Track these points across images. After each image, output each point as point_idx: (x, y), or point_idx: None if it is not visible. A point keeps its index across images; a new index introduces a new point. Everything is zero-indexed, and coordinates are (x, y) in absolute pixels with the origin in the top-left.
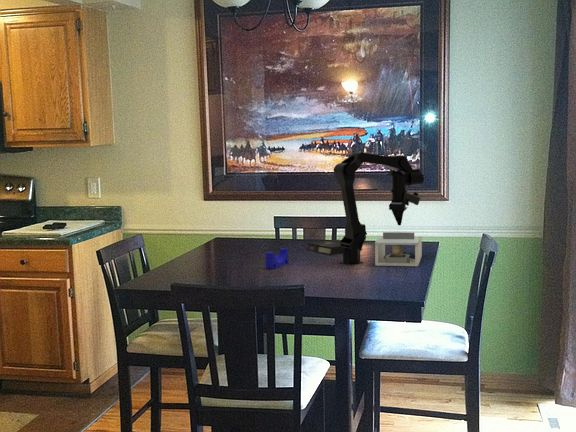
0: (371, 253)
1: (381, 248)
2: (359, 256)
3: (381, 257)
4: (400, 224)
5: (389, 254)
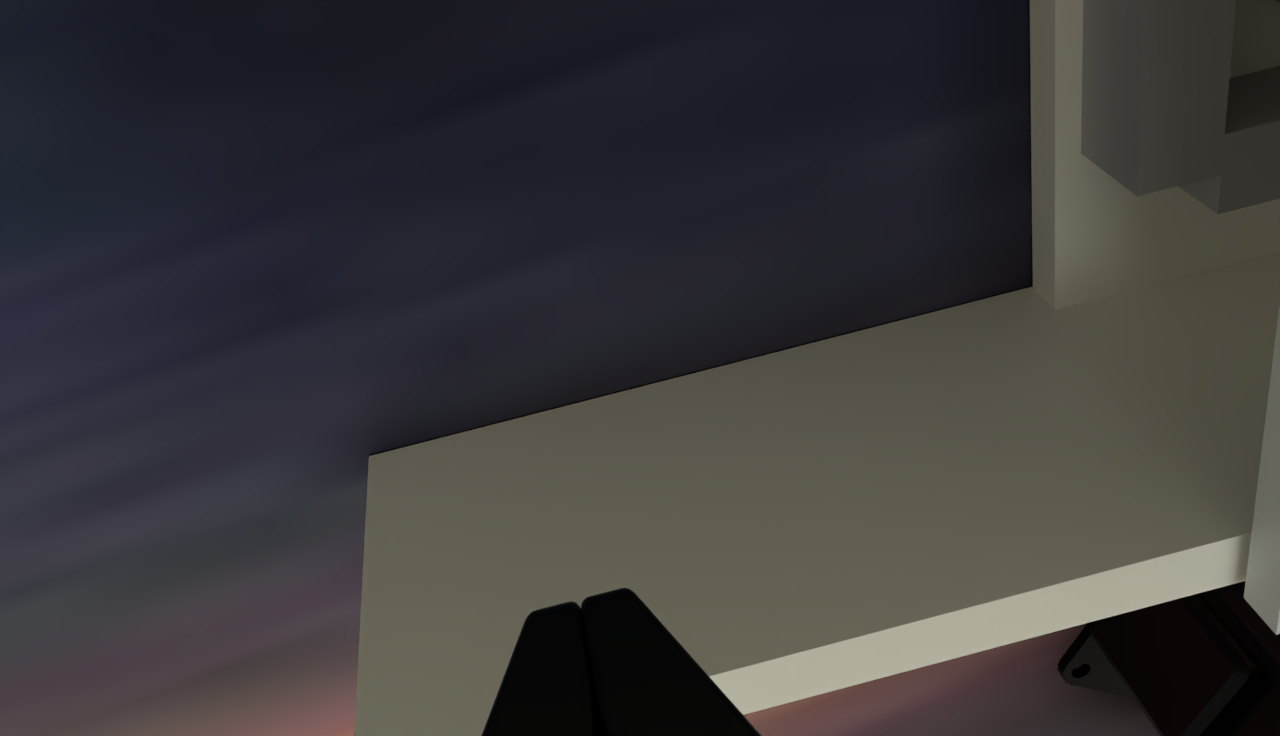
0: (268, 712)
1: (1053, 439)
2: (1227, 597)
3: (990, 331)
4: (648, 618)
5: (1219, 160)
